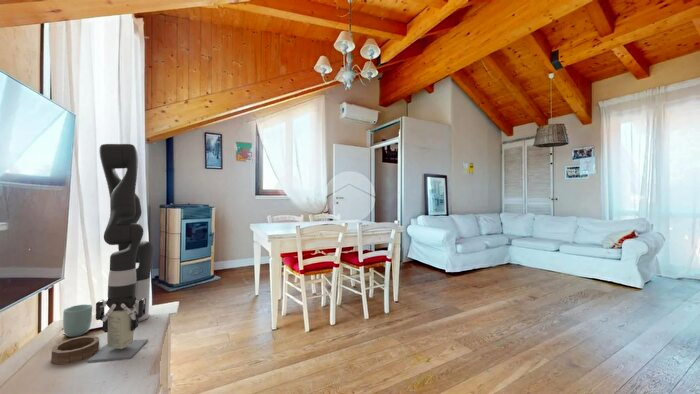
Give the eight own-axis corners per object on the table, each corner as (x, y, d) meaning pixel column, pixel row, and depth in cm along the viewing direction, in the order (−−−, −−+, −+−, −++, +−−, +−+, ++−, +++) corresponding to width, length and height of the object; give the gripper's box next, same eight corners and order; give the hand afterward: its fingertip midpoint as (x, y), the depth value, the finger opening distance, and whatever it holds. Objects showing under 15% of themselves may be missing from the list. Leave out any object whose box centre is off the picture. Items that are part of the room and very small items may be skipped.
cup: (77, 329, 112) (78, 303, 113) (96, 330, 112) (97, 304, 112) (56, 339, 105) (57, 311, 105) (77, 339, 104) (78, 312, 105)
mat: (109, 343, 102) (109, 342, 102) (147, 340, 105) (147, 339, 105) (87, 362, 91) (87, 360, 91) (131, 358, 93) (131, 356, 93)
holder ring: (68, 347, 99) (68, 337, 99) (105, 344, 102) (106, 334, 102) (41, 365, 88) (42, 354, 88) (84, 361, 91) (85, 350, 91)
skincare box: (133, 343, 99) (135, 307, 99) (121, 349, 95) (122, 312, 95) (118, 341, 101) (120, 305, 101) (105, 347, 96) (107, 310, 96)
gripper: (90, 286, 93) (88, 337, 93) (141, 284, 96) (139, 334, 96) (104, 279, 100) (102, 327, 100) (151, 278, 103) (149, 324, 103)
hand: (120, 330), depth 98 cm, fingers closed on skincare box, 7 cm apart
